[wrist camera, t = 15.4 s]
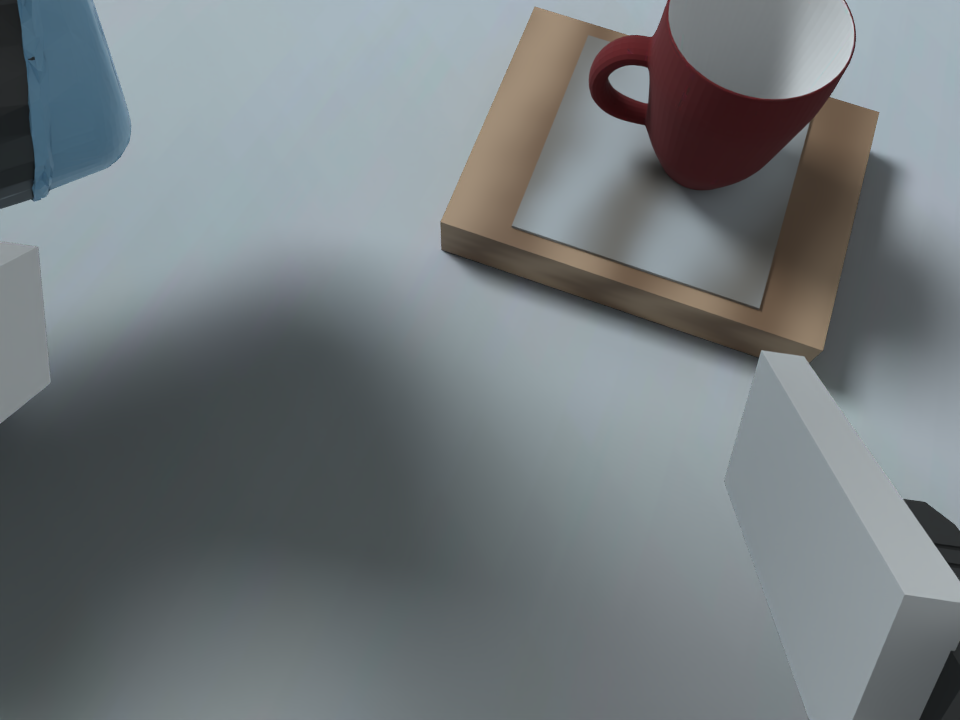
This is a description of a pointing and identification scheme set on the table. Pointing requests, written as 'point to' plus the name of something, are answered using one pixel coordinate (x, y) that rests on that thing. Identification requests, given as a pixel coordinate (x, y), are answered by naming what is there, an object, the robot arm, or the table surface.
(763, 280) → the plinth
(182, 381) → the table surface
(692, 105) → the mug
